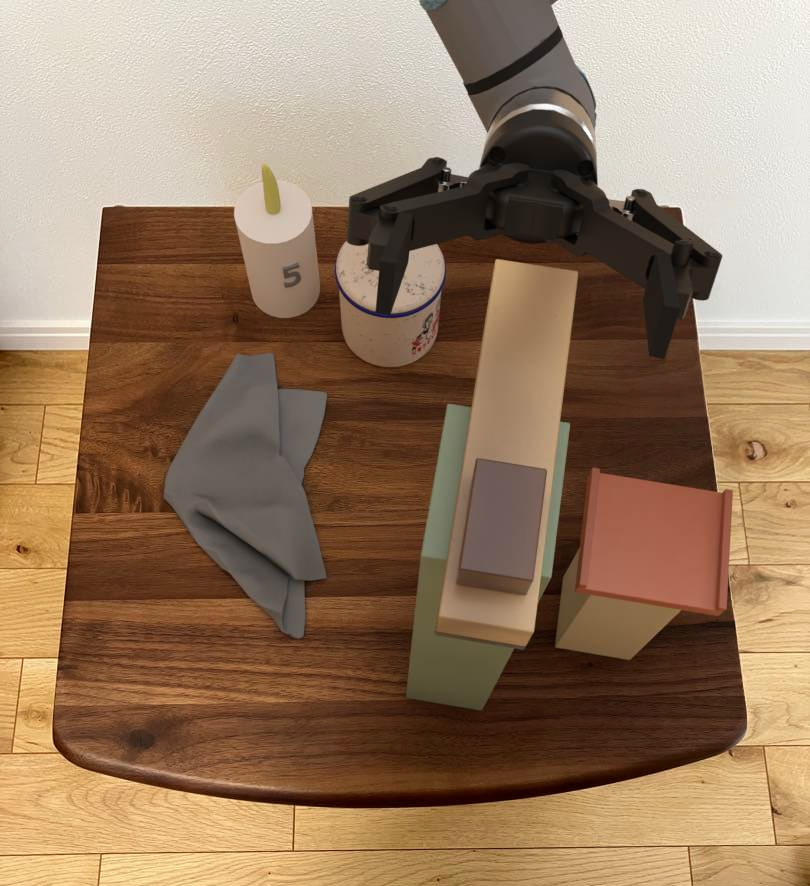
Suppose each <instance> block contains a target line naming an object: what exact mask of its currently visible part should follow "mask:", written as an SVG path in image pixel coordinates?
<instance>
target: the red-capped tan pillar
mask: <svg viewBox="0 0 810 886" xmlns="http://www.w3.org/2000/svg"><path fill="white" fill-rule="evenodd" d="M733 498H734V490H733V489H728V488H725V489H724V490H723V491H722V492H719V491H715V490H708V489H701V488H695V487H689V486H683V485H676V484H670V483H664V482H659V481H653V480H652V481H651V480H647V479H641V478H633V477H629V476H628V477H627V476H622V475H616V474H609V473H603V472H601V468H598V467H592V468H591V470H590V472H589V474H588V476H587V480H586V488H585V498H584V506H583V514H582V523H581V532H580V542H579V548H578V550H577V551H576V553H575V555H574V556H573V558H572V561H571V562H570V563H569V566H568V568H567V569H566V572H565V573H564V575H563V576H562V584H561V592H560V601H559V608H558V609H559V610H558V619H557V626H556V635H555V643H554V648H557V649H561V650H562V649H563V650H569V651H574V652H581V653H586V654H592V655H597V656H598V655H599V656H603V657H610V658H616V659H621V660H626V661H630V660H632V658H634V657H635V656H636V655H637V654H638V653H639V652H640V651H641V650H642V649H643V648H644V647H645V646H647V644H648V643H649V642H650V641H651V640H653V638H654V637H655V636H656V635H657V634H658V633H659V632H661V630H663V629H664V628H665V627H666V626H667V625H668V624H669V623H670V622H671V621H672V620H673V619H674V618H675V617H676V616H678V614H679V613H680V612H681V611H685V612H692V613H696V614H702V615H709V616H715V617H718V616H720V615H721V614H723V612H725V611H726V610H727V609H728V590H729V589H728V588H729V574H730V573H729V572H730V571H729V570H730V554H731V552H730V551H731V535H732V517H733V516H732V515H733V500H734V499H733Z"/></svg>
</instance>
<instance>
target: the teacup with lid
mask: <svg viewBox="0 0 810 886" xmlns="http://www.w3.org/2000/svg"><path fill="white" fill-rule="evenodd" d="M367 256H368V244H367V245H364V246H354V245H351V244H349V243H347V239H345V242H344V243H343V244H342V246H341V247H340V249H339V252H338V254H337V256H336V258H335V263H334V278H335V283H336V285H337V287H338V293H339V295H338V296H339V305H340V306H339V309H340V321H341V331H342V335H343V339H344V341H345V343H346V345H347V346H348V348H349V350H350V351H352V352H353V353H354V354H355V355H356V356H357V357H358V358H359V359H361V360H362V361H364V362H366V363H368V364H370V365H374V366H376V367H377V366H378V367H383V368H398V367H405V366H407V365H410V364H412V363H414V362H416V361H418V360H419V359H421V358H422V357H424V356H425V355H426V354H427V353H428V352H429V351H430V350H431V348H432V346H434V343H435V341H436V339H437V337H438V332H439V331H438V330H439V324H440V323H439V322H440V312H441V301H442V291H443V288H444V285H445V282H446V278H447V265H446V261H445V257H444V254H443V252H442V250H441V249H440V247H439V245H438V244H435V245H431V246H427V247H423V248H420V249H416V250H412V251H410V252H409V261H408V265H407V268H406V271H405V274H404V277H403V279H402V282H401V285H400V288H399V291H398V294H397V297H396V300H395V303H394V306H393V309H392V312H391V315H387V314H380V313H375V311H376V300H377V289H378V278H379V271H377V270H370V269H369V268H368V266H367Z"/></svg>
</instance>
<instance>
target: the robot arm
mask: <svg viewBox="0 0 810 886" xmlns="http://www.w3.org/2000/svg"><path fill="white" fill-rule="evenodd" d="M418 2H419V5H420V7H421V8H422V10H423V11H425V12H426V15H427V16H428V18H429V20H430V22H431V24H432V25H433V28H434V29H435V30H436V33H437V35H438V37H439V39H440V41H441V42H442V44H443V46H444V48H445V49H446V51H447V53H448V56H449V57H450V60H451V61H452V63H453V65H454V66H455V68H456V70H457V72H458V74H459V76H460V78H461V79H462V81H463V82H462V84H463V86H464V88H465V90H466V93H467V96H468V98H469V100H470V102H471V104H472V106H473V108H474V110H475V111H476V114H477V115H478V118H479V120H480V122H481V124H482V125H483V127H484V129H485V132H486V136H485V137H486V138H485V142H484V147H483V150H482V154H481V159H480V163H479V167H478V168H477V169H476V170H474V171H472V172H471V173H470V174H469V175H468V176H463V175H458V174H454V173H452V169H451V167H447V166H448V161H447V160H446V159H444V158H442V157H440V156H439V157H438V156H435V157H430V158H427V159H426V161H425V162H424V163H423V165H422V166H421V167H419V168H417V169H414V170H412V171H409V172H407V173H404V174H401V175H399V176H396V177H394V178H391V179H389V180H387V181H384V182H382V183H379V184H377V185H374V186H372V187H370V188H366V189H365V190H362V191H360V192H356V193H354V194H352V195H350V196H349V198H348V211H347V227H346V229H347V230H346V240H347V243H349V244H351V245H354V246H364V245H367V244H368V256H367V266H368V268H369V269H370V270H377V271H379V278H378V289H377V300H376V311H375V313H380V314H387V315H391V312H392V309H393V306H394V303H395V300H396V297H397V294H398V291H399V288H400V285H401V282H402V279H403V277H404V274H405V271H406V268H407V265H408V261H409V252H410V251H412V250H416V249H420V248H423V247H427V246H431V245H435V244H437V245H438V244H441V243H445V242H446V243H447V242H449V241H453V240H457V239H460V238H464V237H469V238H470V239H473V240H474V241H478V242H479V241H482V240H485V239H489V238H493V237H497V236H500V235H501V236H504V237H506V238H508V239H510V240H512V241H516V242H519V243H523V244H529V245H541V244H550V245H551V244H552V245H553V244H557V245H558V246H560V247H562V248H563V249H565V250H567V251H568V252H569V253H571V254H573V255H574V256H576V257H577V258H579V257H584V256H591V257H592V258H595V259H596V260H598V261H599V262H600V263H603V264H604V265H606V266H607V267H609V268H610V269H612V270H614V271H616V273H618V274H620V275H621V276H624V278H627V279H629V280H630V281H632V282H633V283H635V284H636V285H638V286H639V287H641V288H643V289H644V292H643V296H642V307H643V315H644V324H645V332H646V340H647V348H648V357H651V358H656V359H662V360H665V359H666V355H667V352H668V349H669V346H670V343H671V340H672V336H673V334H674V329H675V327H676V324H677V320H683V319H684V318H685V317H686V314H687V311H688V308H689V305H690V303H691V299H692V300H694V301H701V302H702V301H703V302H704V301H708V300H709V299H710V296H711V293H712V291H713V288H714V283H715V281H716V278H717V276H718V275H717V274H718V272H719V268H720V265H721V263H722V259H723V254H722V253H721V252H720V251H718V250H717V249H716V248H714V247H713V246H712V245H711V244H709V243H708V242H707V241H706V240H704V239H703V238H701V237H700V236H699V235H697V234H696V233H695V232H693V231H692V230H691V229H690V228H688V227H687V226H686V225H684V224H683V223H682V222H680V221H679V220H678V219H677V218H675V217H674V216H672V215H671V214H670V213H669V212H668V211H666V210H665V209H663V208H662V207H661V206H660V205H658V204H657V202H656V200H655V198H654V195H653V194H652V193H651V192H650V191H648V190H646V189H643V188H635V189H632V190H631V194H630V195H628V196H626V197H625V200H618V199H610V198H608V197H607V194H606V192H605V191H604V190H603V189H602V188H600V187H599V179H598V162H597V161H598V159H597V158H598V157H597V154H598V153H597V144H596V141H597V140H596V125H597V123H596V122H597V117H598V116H597V112H596V108H597V100H596V97H595V94H594V92H593V88H592V86H591V84H590V82H589V79H588V78H587V75H586V74H585V72H583V71H582V69H581V68H580V67H579V66H578V65H577V64H576V62H575V60H574V58H573V56H572V53H571V51H570V49H569V46H568V43H567V42H566V39H565V37H564V33H563V31H562V29H561V27H560V24H559V22H558V19H557V17H556V16H557V15H556V14H555V12H554V9H553V5H554V4H555V3H556V2H558V0H418Z"/></svg>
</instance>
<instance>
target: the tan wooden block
mask: <svg viewBox="0 0 810 886" xmlns="http://www.w3.org/2000/svg"><path fill="white" fill-rule="evenodd" d="M578 279H579V271H577V270H571V269H565V268H558V267H552V266H546V265H545V266H544V265H538V264H532V263H525V262H519V261H512V260H505V259H499V258H497V259H495V260H494V265H493V270H492V276H491V282H490V288H489V293H488V294H489V295H488V299H487V300H488V301H487V306H486V311H485V318H484V325H483V330H482V331H483V332H482V338H481V343H480V350H479V356H478V362H477V369H476V374H475V379H474V386H473V392H472V399H471V405H470V407H471V411H470V417H469V424H468V430H467V436H466V442H465V448H464V455H463V461H462V467H461V473H460V479H459V486H458V492H457V498H456V504H455V511H454V517H453V523H452V529H451V535H450V542H449V548H448V554H447V560H446V566H445V573H444V579H443V585H442V591H441V598H440V604H439V610H438V616H437V622H436V629H435V635H437V636H443V637H449V638H455V639H461V640H467V641H473V642H479V643H485V644H491V645H497V646H503V647H509V648H514V650H522V651H524V650H525V649H526V647H527V646H528V644H529V641H530V640H531V638H532V637H533V634H534V632H535V628H536V619H537V611H538V604H539V602H538V596H539V588H540V580H541V572H542V564H543V556H544V548H545V540H546V531H547V523H548V515H549V507H550V499H551V491H552V483H553V475H554V467H555V458H556V450H557V442H558V434H559V426H560V422H561V418H562V417H561V416H562V411H563V410H562V409H563V401H564V392H565V384H566V376H567V369H568V368H567V367H568V360H569V353H570V344H571V336H572V329H573V328H572V327H573V319H574V310H575V303H576V297H577V295H576V294H577V287H578Z"/></svg>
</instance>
